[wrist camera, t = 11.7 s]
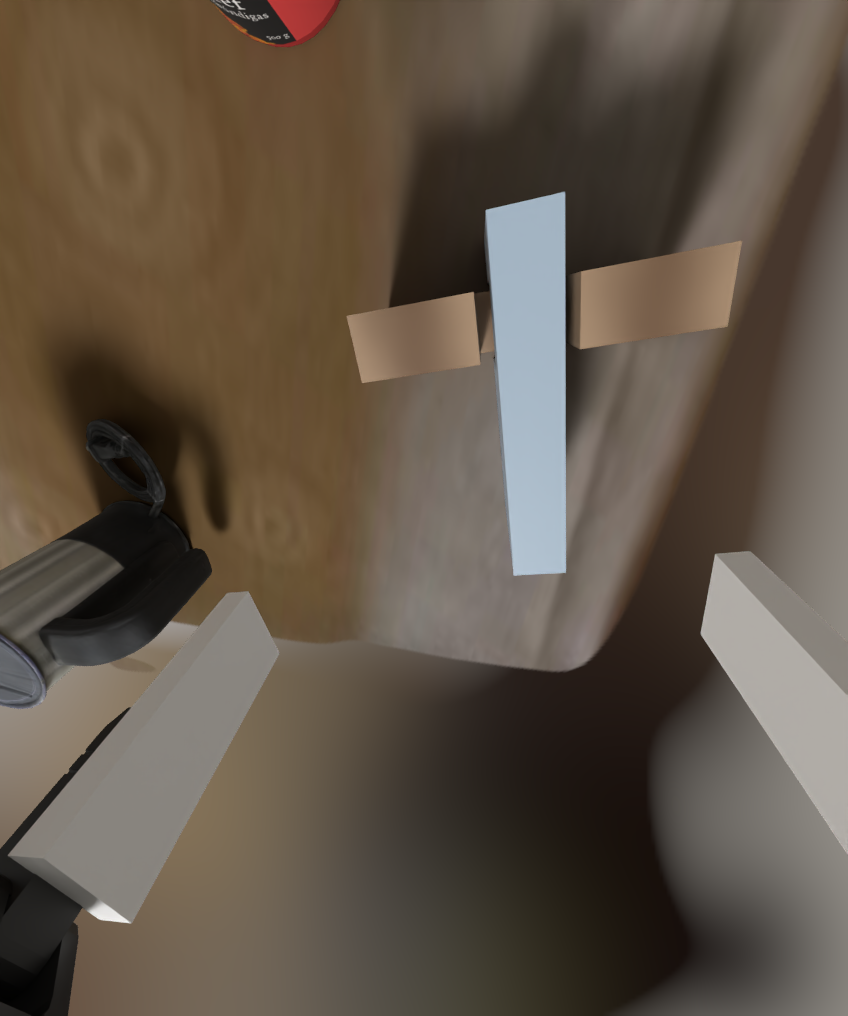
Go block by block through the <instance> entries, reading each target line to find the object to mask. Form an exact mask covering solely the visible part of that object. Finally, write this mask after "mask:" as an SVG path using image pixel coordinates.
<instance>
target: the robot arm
mask: <svg viewBox="0 0 848 1016" xmlns="http://www.w3.org/2000/svg"><path fill="white" fill-rule="evenodd" d="M701 635H702V637H703V638H704V640H705V641H706V643H707V644H708V646H709V647H710V649H711V650H712V652H713V653H714V655H715V656H716V658H717V659H718V661H719V662H720V664H721V665H722V667H723V668H724V670H725V671H726V672H727V674H728V676H729V677H730V679H731V680H732V682H733V683H734V685H735V686H736V687H737V689H738V690H739V692H740V693H741V695H742V697H743V698H744V700H745V701H746V703H747V704H748V706H749V707H750V709H751V710H752V712H753V713H754V715H755V716H756V718H757V719H758V721H759V722H760V724H761V725H762V727H763V728H764V730H765V731H766V733H767V734H768V736H769V737H770V739H771V740H772V742H773V743H774V745H775V746H776V748H777V749H778V751H779V752H780V754H781V755H782V757H783V758H784V760H785V761H786V763H787V764H788V766H789V767H790V769H791V770H792V772H793V773H794V775H795V776H796V778H797V779H798V781H799V782H800V784H801V785H802V786H803V788H804V790H805V791H806V793H807V794H808V796H809V797H810V798H811V800H812V801H813V803H814V805H815V806H816V807H817V809H818V810H819V812H820V813H821V815H822V817H823V818H824V819H825V821H826V823H827V824H828V826H829V827H830V829H831V830H832V832H833V833H834V834H835V836H836V837H837V839H838V841H839V842H840V844H841V845H842V847H843V848H844V850H845V851H846V853H847V854H848V641H846V640H845V639H844V638H843V637H842V636H841V635H840V634H839V633H838V632H837V631H836V630H835V629H834V628H832V627H831V626H830V625H829V624H828V623H827V622H826V621H825V620H824V619H823V618H822V617H820V616H819V615H818V614H817V613H816V612H815V611H814V610H813V609H812V608H811V607H810V606H809V605H808V604H806V603H805V602H804V601H803V600H802V599H801V598H800V597H799V596H798V595H797V594H796V593H795V592H794V591H793V590H791V589H790V588H789V587H788V586H787V585H786V584H785V583H784V582H783V581H782V580H781V579H780V578H778V577H777V576H776V575H775V574H774V573H773V572H772V571H771V570H770V569H769V568H768V567H767V566H766V565H764V564H763V563H762V562H761V561H760V560H759V559H758V558H757V557H756V556H755V555H754V554H753V553H751V552H750V551H747V552H736V553H735V552H734V553H722V554H715V559H714V564H713V570H712V575H711V581H710V586H709V591H708V597H707V602H706V608H705V613H704V619H703V625H702V630H701ZM278 655H279V651H278V649H277V647H276V645H275V643H274V641H273V639H272V637H271V635H270V633H269V631H268V629H267V627H266V625H265V623H264V621H263V619H262V617H261V615H260V613H259V611H258V610H257V608H256V606H255V604H254V602H253V600H252V598H251V596H250V594H249V592H248V591H247V592H235V593H227V594H226V595H225V596H224V597H223V598H222V600H221V601H220V602H219V603H218V604H217V606H216V607H215V608H214V609H213V610H212V612H211V613H210V614H209V615H208V616H207V618H206V619H205V620H204V621H203V622H202V624H201V625H200V626H199V627H198V628H197V630H196V631H195V632H194V633H193V634H192V635H191V637H190V638H189V639H188V640H187V642H186V643H185V644H184V645H183V646H182V648H181V649H180V650H179V651H178V652H177V654H176V655H175V656H174V657H173V658H172V659H171V661H170V662H169V663H168V664H167V665H166V667H165V668H164V669H163V670H162V671H161V673H160V674H159V675H158V676H157V678H156V679H155V680H154V681H153V683H151V685H150V686H149V687H148V688H147V689H146V691H145V692H144V693H143V694H142V695H141V697H140V698H139V699H138V700H137V701H136V702H135V704H134V705H133V706H132V707H130V708H127V709H126V710H125V711H124V712H122V713H121V714H120V715H119V716H118V717H117V718H115V719H114V720H113V721H112V722H110V723H109V724H108V725H107V726H106V727H105V728H104V729H103V730H102V731H101V732H100V733H99V735H98V736H97V737H96V738H95V739H94V740H93V742H92V743H91V744H90V745H89V746H88V748H87V749H86V752H85V754H83V755H81V756H80V757H79V758H78V759H77V761H75V763H74V764H73V765H72V766H71V767H70V768H69V772H68V774H64V775H63V777H62V778H61V779H60V780H59V781H58V782H57V784H56V785H55V786H54V787H53V788H52V789H51V791H50V792H49V793H48V794H47V795H46V796H45V797H44V799H43V800H42V801H41V802H40V803H39V804H38V806H37V807H36V808H35V809H34V810H33V811H32V813H31V814H30V815H29V816H28V817H27V818H26V820H25V821H24V822H23V823H22V824H21V826H20V827H19V828H18V829H17V830H16V831H15V833H14V834H13V835H12V836H11V837H10V838H9V839H8V841H7V842H6V843H5V844H4V845H3V847H2V848H1V849H0V1016H68V1010H69V1003H70V995H71V988H72V980H73V973H74V966H75V959H76V952H77V944H78V926H77V925H76V924H75V923H74V922H73V921H74V920H75V918H76V917H77V915H78V914H79V912H80V910H81V909H82V908H84V909H85V910H86V911H88V912H89V913H91V914H92V915H94V916H95V917H97V918H98V919H99V920H107V921H115V922H125V923H132V921H133V920H134V918H135V916H136V914H137V912H138V910H139V909H140V907H141V905H142V903H143V901H144V899H145V898H146V896H147V894H148V892H149V890H150V889H151V887H152V885H153V883H154V881H155V880H156V878H157V876H158V874H159V872H160V870H161V869H162V867H163V865H164V863H165V861H166V860H167V858H168V856H169V854H170V852H171V850H172V849H173V847H174V845H175V843H176V841H177V839H178V837H179V836H180V834H181V832H182V830H183V829H184V827H185V825H186V823H187V821H188V819H189V817H190V816H191V814H192V812H193V810H194V808H195V807H196V805H197V803H198V801H199V799H200V797H201V796H202V794H203V792H204V790H205V788H206V787H207V785H208V783H209V781H210V779H211V777H212V776H213V774H214V772H215V770H216V768H217V766H218V764H219V763H220V761H221V759H222V757H223V755H224V754H225V752H226V750H227V748H228V746H229V745H230V743H231V741H232V739H233V737H234V735H235V734H236V732H237V730H238V728H239V726H240V724H241V722H242V721H243V719H244V717H245V715H246V714H247V712H248V710H249V708H250V706H251V704H252V703H253V701H254V699H255V697H256V695H257V693H258V692H259V690H260V688H261V686H262V684H263V683H264V681H265V679H266V677H267V675H268V673H269V671H270V670H271V668H272V666H273V664H274V662H275V661H276V659H277V657H278Z"/></svg>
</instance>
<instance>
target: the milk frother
mask: <svg viewBox="0 0 848 1016" xmlns="http://www.w3.org/2000/svg"><path fill="white" fill-rule="evenodd" d="M86 436H87V440H88V442H87V443H86V449H87V450H88V451H89V452H90V453H91V455H92V456H93V458H94V459H95V460H96V461H97V462H99V464H100V465H101V466H102V468H103V469H104V470H105V472H106V473H107V474H108V475H109V476H110V477H111V478H112V479H113V480H114V481H115V482H116V483H117V484H119V486H121V487H122V488H123V489H125V490H126V491H127V492H129V493H130V494H132V495H134V496H135V497H137V498H139V499H141V500H143V501H147V502H153V503H154V504H153V506H152V507H151V506H149V505H146V504H143V503H140V502H134V501H119V502H115V503H113V504H110V505H109V506H107V507H106V508H105V509H104V510H103V512H102V513H101V514H99V515H97V516H96V517H94V518H92V519H91V520H89V521H88V522H86V523H84V524H82V525H81V526H79V527H77V528H76V529H74V530H72V531H71V532H69V533H67V534H66V535H64V536H62V537H60V538H59V539H57V540H55V541H53V542H51V543H50V544H48V545H46V546H44V547H42V548H40V549H39V550H37V551H35V552H33V553H31V554H29V555H28V556H26V557H24V558H22V559H21V560H19V561H17V562H15V563H13V564H11V565H10V566H8V567H6V568H4V569H2V570H1V571H0V705H1V706H6V707H10V708H17V709H24V708H33V707H35V706H37V705H39V704H40V703H41V702H42V701H43V700H44V699H45V697H46V693H47V690H48V689H49V688H51V687H52V686H53V685H54V684H55V683H57V682H58V681H59V680H60V679H61V678H62V677H63V676H65V675H66V674H67V673H68V672H69V671H70V670H71V669H72V668H74V666H95V665H101V664H105V663H109V662H112V661H116V660H119V659H121V658H124V657H126V656H128V655H130V654H132V653H134V652H136V651H137V650H139V649H140V648H142V647H144V646H145V645H146V644H148V643H149V642H150V641H152V640H153V639H154V638H155V637H156V636H157V635H158V634H159V633H160V632H161V631H162V630H163V629H164V627H165V626H166V625H167V624H168V623H169V622H170V621H171V620H172V618H173V617H174V616H175V615H176V614H177V613H178V612H179V611H180V610H181V608H182V607H183V606H184V605H185V604H186V603H187V602H188V601H189V599H190V598H191V597H192V596H193V595H194V594H195V592H196V591H197V590H198V589H199V588H200V587H201V585H202V584H203V583H204V582H205V581H206V580H207V578H208V577H209V576H210V575H211V573H212V568H211V565H210V562H209V559H208V557H207V555H206V553H205V552H204V551H203V550H202V549H198V548H195V549H190V548H189V544H188V541H187V539H186V537H185V536H184V534H183V532H182V531H181V530H180V528H179V527H178V526H177V525H176V524H175V523H174V522H173V521H172V520H170V519H169V518H168V517H167V516H166V515H165V514H163V513H162V512H160V511H161V509H162V507H163V504H164V501H165V496H166V489H165V486H164V482H163V479H162V477H161V474H160V472H159V471H158V469H157V467H156V465H155V464H154V462H153V460H152V459H151V458H150V456H149V455H148V454H147V452H146V451H145V450H144V449H143V447H142V446H141V445H140V444H139V443H138V442H137V441H136V440H135V439H134V438H133V437H132V436H131V435H130V434H129V433H127V432H126V431H125V430H124V429H123V428H121V427H120V426H118V425H117V424H115V423H113V422H111V421H109V420H106V419H98V420H95V421H92V422H90V423H89V424H88V426H87V433H86ZM130 456H131V457H132V459H133V460H134V461H135V463H136V464H137V465H138V467H139V468H140V469H141V471H142V472H143V473H144V475H145V477H146V482H147V488H144V487H142V486H140V485H138V484H137V483H135V482H134V481H132V480H131V479H130V478H129V477H128V476H126V475H125V474H124V473H123V472H122V471H121V470H120V469H119V468H118V467H117V466H116V464H115V463H114V462H113V461H112V459H113V458H118V459H119V458H123V457H126V458H127V457H130Z"/></svg>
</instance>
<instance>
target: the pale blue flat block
mask: <svg viewBox="0 0 848 1016" xmlns="http://www.w3.org/2000/svg"><path fill="white" fill-rule="evenodd" d="M484 245H485V257H486V270H487V282H488V284H489V287H490V299H491V312H492V325H493V338H494V350H495V358H494V369H495V382H496V394H497V407H498V419H499V432H500V444H501V457H502V469H503V481H504V494H505V506H506V515H507V523H508V532H509V540H510V548H511V557H512V565H513V574H514V575H530V574H549V573H566V362H565V192H561V193H557V194H553V195H548V196H544V197H540V198H535V199H531V200H527V201H522V202H518V203H514V204H509V205H505V206H501V207H496V208H492V209H488V210H486V215H485V234H484Z"/></svg>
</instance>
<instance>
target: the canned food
mask: <svg viewBox="0 0 848 1016" xmlns="http://www.w3.org/2000/svg"><path fill="white" fill-rule="evenodd" d="M210 1H211V2H212V3H213V4H214V5H215V6H216V7H217V9H218V10H219V11H220V12H221V13H222V14H223V15H224V16H225V17H226V18H227V19H228V20H229V21H230V22H231V23H232V24H233V25H234V26H235V27H236V28H237V29H238V30H239V31H240V32H242V33H244V34H245V35H247V36H249V37H250V38H252V39H254V40H256V41H259V42H262V43H265V44H268V45H272V46H275V47H291V46H295V45H299V44H302V43H304V42H305V41H307V40H309V39H311V38H312V37H314V36H315V35H316V34H317V33H318V32H319V31H320V30H321V29H322V28H323V27H324V26H325V25H326V24H327V22H328V21H329V19H330V18H331V16H332V15H333V13H334V12H335V10H336V8H337V6H338V4H339V1H340V0H210Z"/></svg>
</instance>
